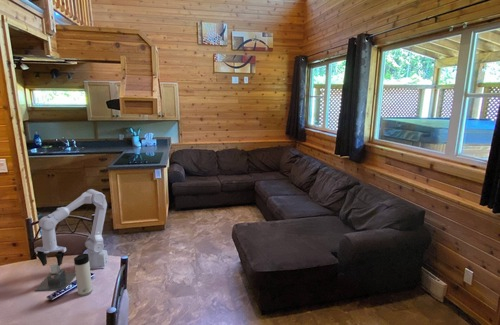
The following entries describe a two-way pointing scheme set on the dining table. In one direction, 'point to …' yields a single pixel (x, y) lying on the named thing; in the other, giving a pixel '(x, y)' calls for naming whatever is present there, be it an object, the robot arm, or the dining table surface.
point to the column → (55, 268)
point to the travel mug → (83, 274)
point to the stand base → (56, 281)
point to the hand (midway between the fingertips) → (52, 264)
